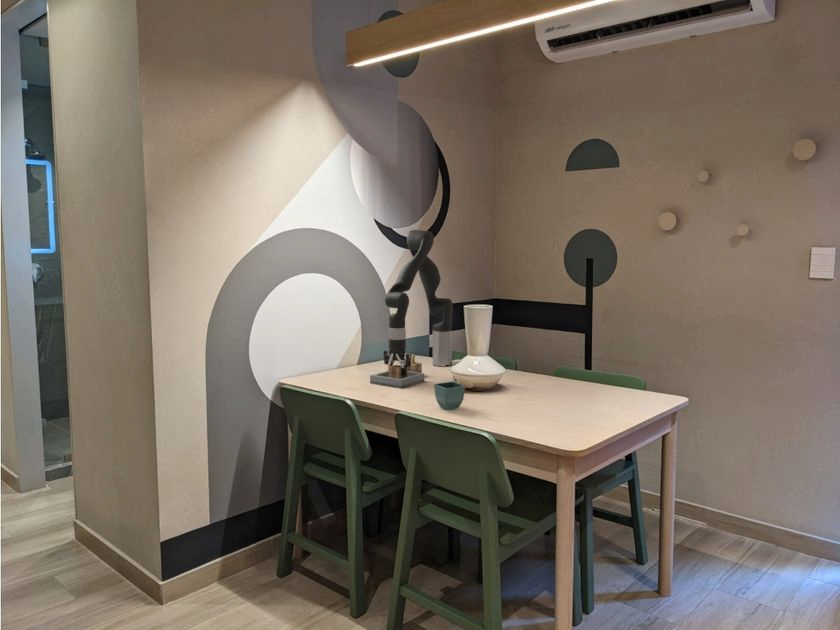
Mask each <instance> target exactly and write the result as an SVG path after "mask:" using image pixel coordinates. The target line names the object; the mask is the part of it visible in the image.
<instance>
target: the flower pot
mask: <svg viewBox="0 0 840 630" xmlns="http://www.w3.org/2000/svg"><path fill="white" fill-rule="evenodd" d="M433 388H434V396H435V400H436V402H437V404H438V406H439V407H440V408H442V409H444V410H446V411H450V410H451V411H452V410H457V409H456V408H458V409H459V408H460V406H461V405H462V403H463V402H464V401H463V400H464V397H465V391H466V389H465V386H464V385H461V384H458V383H456V382H453V381H448V382H439V383H433Z"/></svg>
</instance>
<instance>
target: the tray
mask: <svg viewBox="0 0 840 630" xmlns="http://www.w3.org/2000/svg"><path fill="white" fill-rule="evenodd" d="M423 381H424V382H425V373H424V372H422V373H418V372H411V371H408V377H406V378H403V379H396V378H390V377H388V370H386V371H385V370H384V371H382V372H378V373H374V374H370V376H369V383H370V384H373V385H378V384H379V385H378V386H385V387H391V388H397V389H403V387H404V388H407V387H411V386H414V385H416V383H417V384H420V383H424V382H423ZM419 382H420V383H419ZM413 384H414V385H413ZM406 386H407V387H406Z"/></svg>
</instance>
